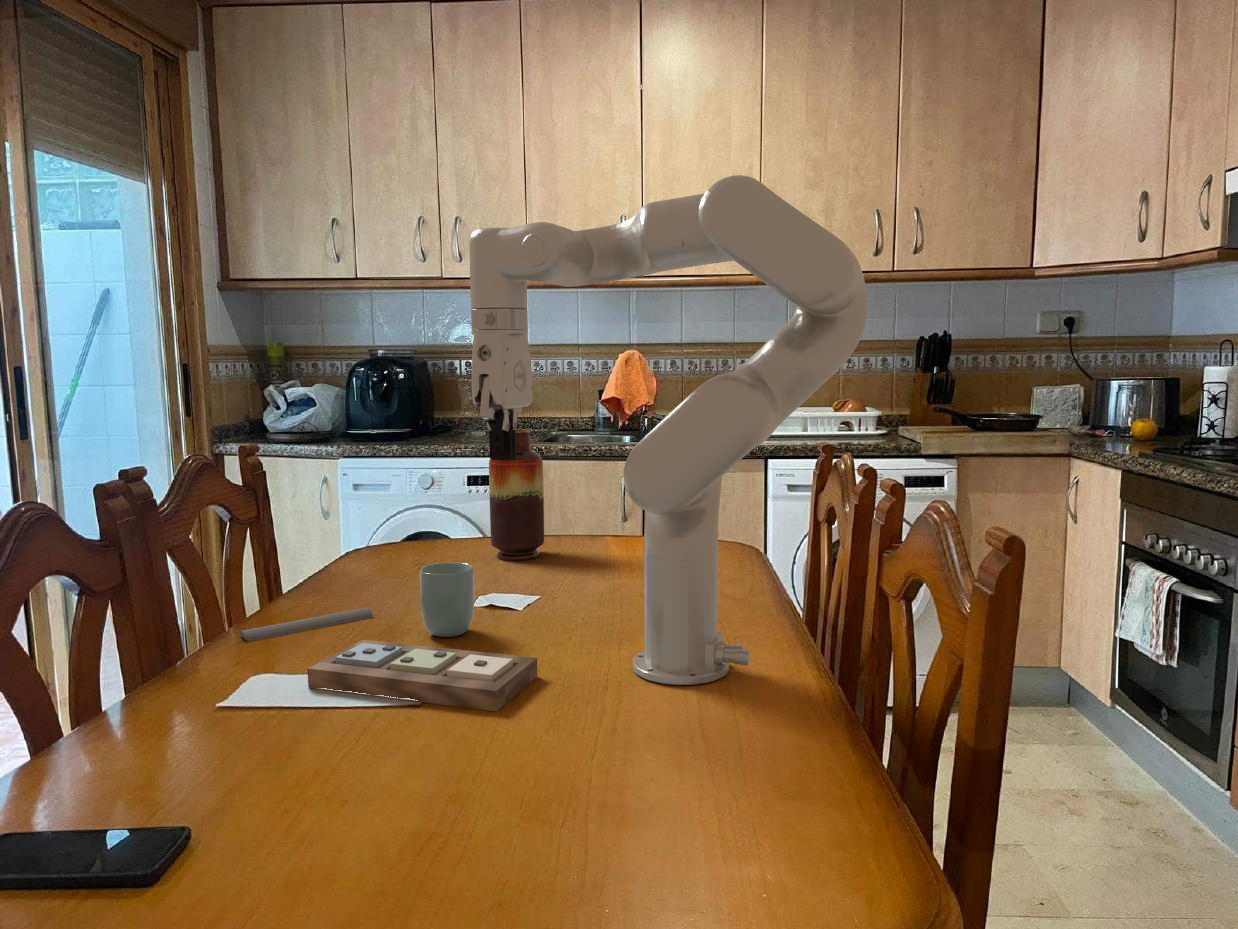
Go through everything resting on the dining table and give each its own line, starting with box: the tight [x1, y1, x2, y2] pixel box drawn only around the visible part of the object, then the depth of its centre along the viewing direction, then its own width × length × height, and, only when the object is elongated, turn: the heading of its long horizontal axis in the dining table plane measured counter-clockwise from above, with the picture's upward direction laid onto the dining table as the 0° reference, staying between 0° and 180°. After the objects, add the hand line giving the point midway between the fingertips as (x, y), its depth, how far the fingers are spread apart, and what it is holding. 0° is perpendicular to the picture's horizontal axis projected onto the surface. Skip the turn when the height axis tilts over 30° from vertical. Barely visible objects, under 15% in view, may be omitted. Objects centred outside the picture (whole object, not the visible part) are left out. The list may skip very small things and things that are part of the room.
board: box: [306, 639, 538, 712], centre depth 114 cm, size 26×12×2 cm, turn 72°
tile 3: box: [335, 643, 402, 669], centre depth 116 cm, size 6×6×3 cm
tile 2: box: [390, 649, 456, 675], centre depth 114 cm, size 6×6×3 cm
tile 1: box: [447, 654, 513, 682], centre depth 111 cm, size 6×6×3 cm
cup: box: [419, 561, 475, 638], centre depth 134 cm, size 8×8×10 cm
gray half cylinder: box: [239, 607, 373, 643], centre depth 138 cm, size 4×20×2 cm, turn 128°
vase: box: [488, 428, 545, 562], centre depth 185 cm, size 11×11×26 cm
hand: (502, 459), depth 123 cm, fingers closed
